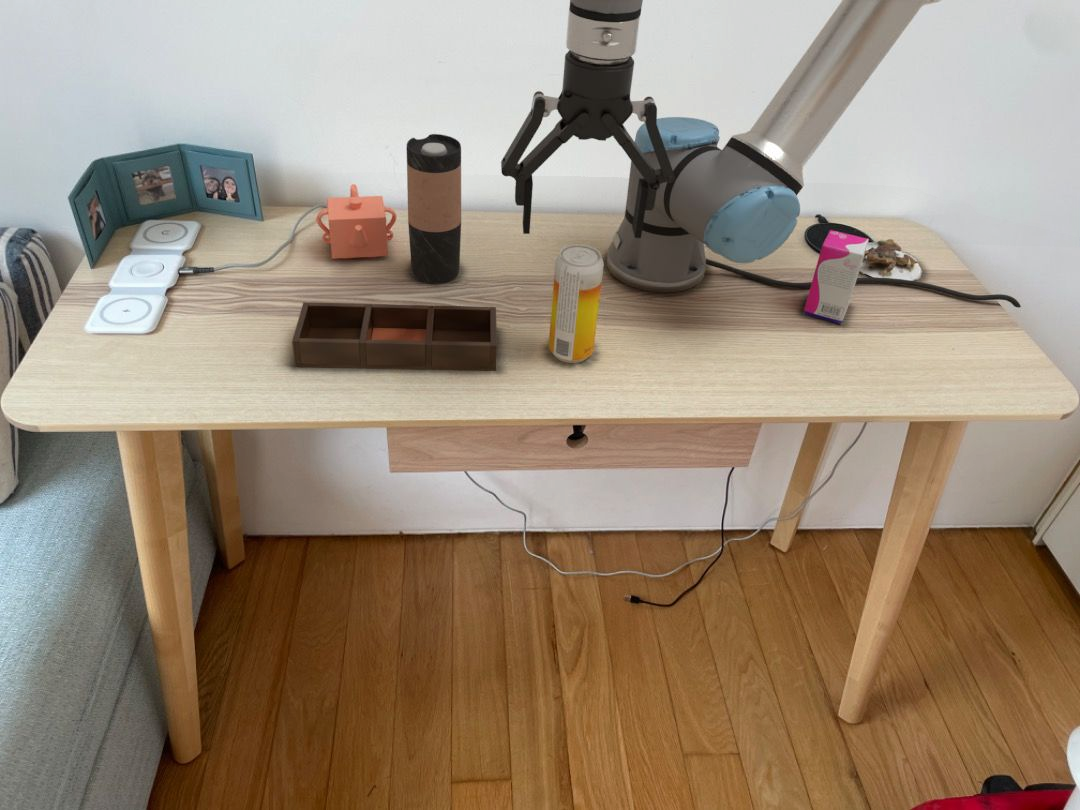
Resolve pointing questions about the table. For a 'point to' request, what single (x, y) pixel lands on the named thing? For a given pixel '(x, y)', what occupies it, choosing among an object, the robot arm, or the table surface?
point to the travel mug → (434, 207)
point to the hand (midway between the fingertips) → (581, 230)
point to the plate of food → (889, 262)
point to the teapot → (357, 226)
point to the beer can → (575, 302)
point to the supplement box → (835, 276)
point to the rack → (395, 336)
